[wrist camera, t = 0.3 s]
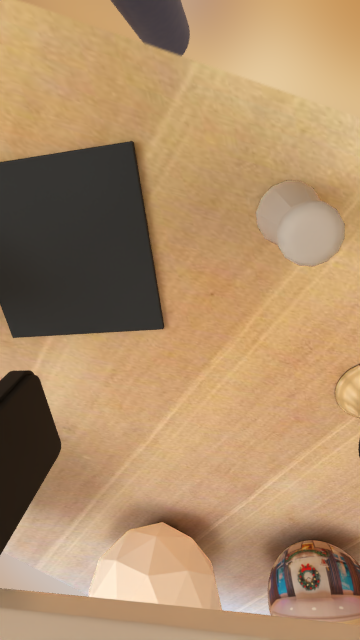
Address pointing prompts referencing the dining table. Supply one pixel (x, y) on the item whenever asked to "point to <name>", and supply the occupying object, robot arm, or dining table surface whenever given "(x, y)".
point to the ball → (156, 570)
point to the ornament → (315, 584)
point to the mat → (76, 244)
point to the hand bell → (349, 392)
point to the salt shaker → (300, 223)
